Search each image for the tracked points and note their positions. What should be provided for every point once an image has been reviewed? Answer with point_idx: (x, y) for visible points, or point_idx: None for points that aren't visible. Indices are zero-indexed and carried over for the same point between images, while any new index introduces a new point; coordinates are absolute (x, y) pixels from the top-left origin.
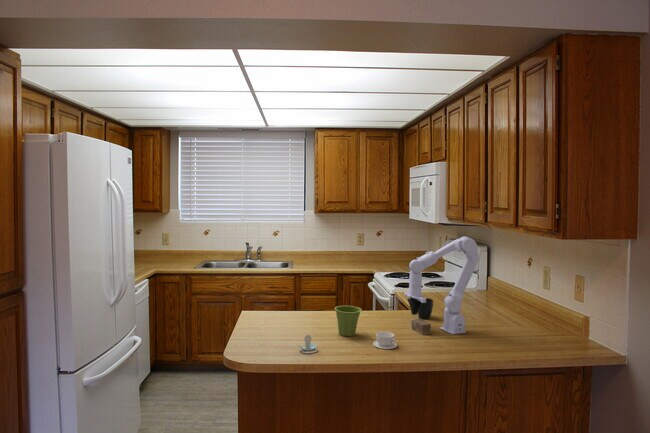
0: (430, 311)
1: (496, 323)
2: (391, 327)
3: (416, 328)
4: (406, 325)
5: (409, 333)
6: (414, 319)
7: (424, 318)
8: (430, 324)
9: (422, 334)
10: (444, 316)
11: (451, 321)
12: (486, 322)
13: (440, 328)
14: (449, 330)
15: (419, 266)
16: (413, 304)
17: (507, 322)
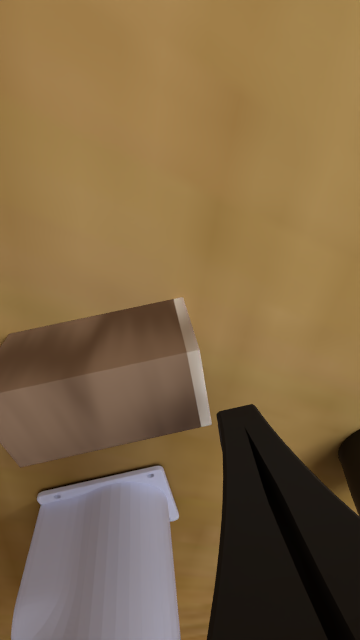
0: (358, 513)
1: (195, 604)
2: (268, 97)
3: (91, 332)
4: (278, 295)
5: (37, 233)
6: (187, 380)
7: (348, 443)
8: (18, 460)
9: (9, 337)
10: (124, 582)
11: (53, 578)
12: (213, 590)
13: (147, 468)
14: (81, 498)
15: None
16: (209, 626)
17: (199, 619)
